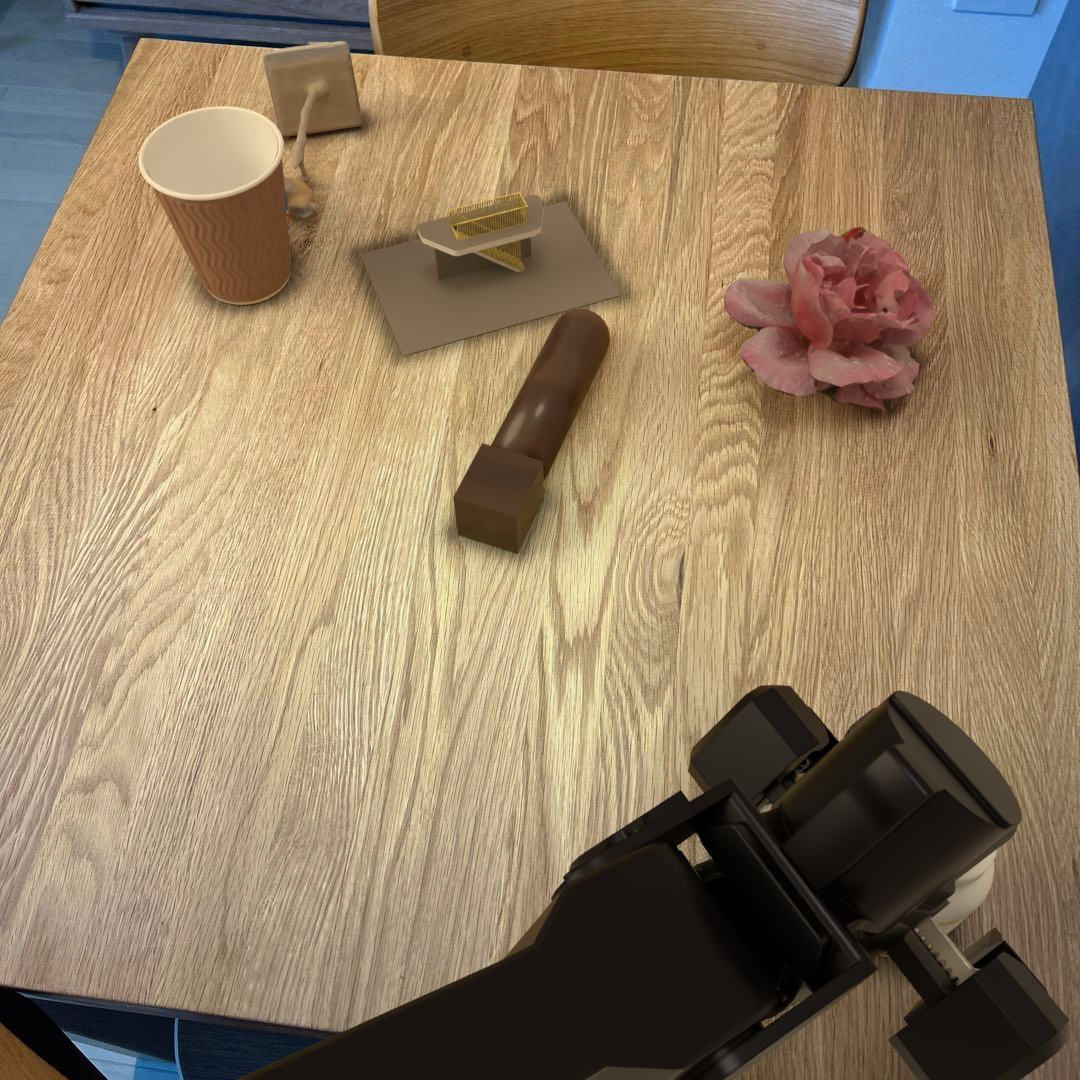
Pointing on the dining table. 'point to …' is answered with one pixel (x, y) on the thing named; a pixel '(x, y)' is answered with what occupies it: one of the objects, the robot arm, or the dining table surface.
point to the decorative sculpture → (311, 104)
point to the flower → (835, 320)
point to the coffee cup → (224, 198)
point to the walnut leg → (531, 435)
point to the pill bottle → (966, 895)
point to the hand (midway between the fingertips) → (924, 856)
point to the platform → (486, 272)
